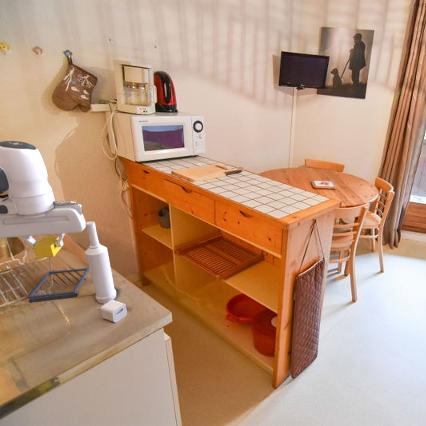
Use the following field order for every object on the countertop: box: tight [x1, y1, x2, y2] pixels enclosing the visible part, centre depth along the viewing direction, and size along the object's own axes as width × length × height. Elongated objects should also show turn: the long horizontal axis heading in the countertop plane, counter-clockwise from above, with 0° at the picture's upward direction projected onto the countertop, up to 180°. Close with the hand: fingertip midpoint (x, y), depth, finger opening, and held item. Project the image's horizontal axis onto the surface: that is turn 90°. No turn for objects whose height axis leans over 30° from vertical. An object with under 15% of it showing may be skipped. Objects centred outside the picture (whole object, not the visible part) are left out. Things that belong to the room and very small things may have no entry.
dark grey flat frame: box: [27, 267, 90, 304], centre depth 98 cm, size 11×13×2 cm
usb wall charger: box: [96, 299, 128, 323], centre depth 88 cm, size 4×7×4 cm, turn 71°
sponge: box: [32, 236, 62, 259], centre depth 91 cm, size 6×4×4 cm, turn 18°
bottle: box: [84, 221, 117, 305], centre depth 90 cm, size 5×5×25 cm
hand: (48, 247), depth 91 cm, fingers closed on sponge, 4 cm apart
